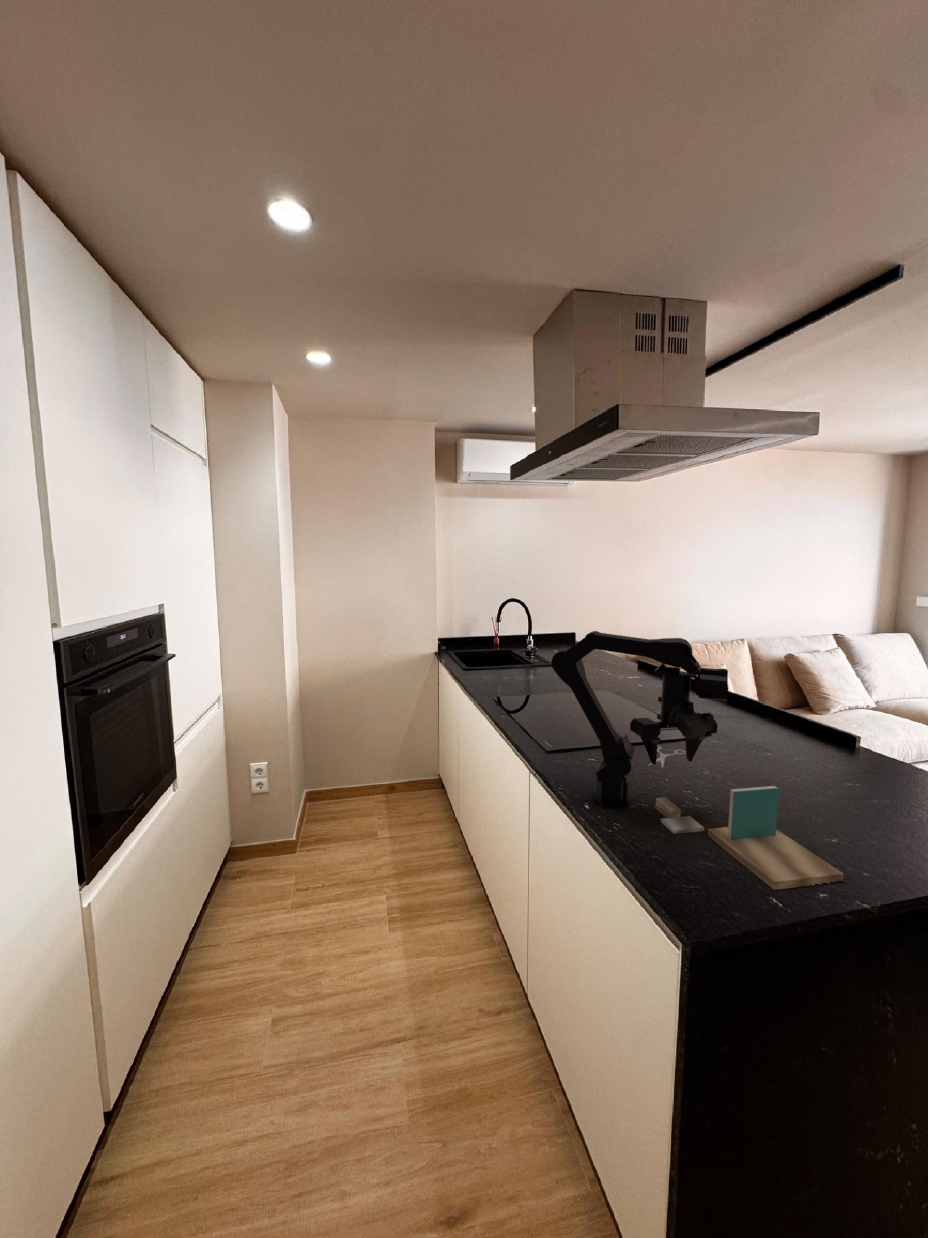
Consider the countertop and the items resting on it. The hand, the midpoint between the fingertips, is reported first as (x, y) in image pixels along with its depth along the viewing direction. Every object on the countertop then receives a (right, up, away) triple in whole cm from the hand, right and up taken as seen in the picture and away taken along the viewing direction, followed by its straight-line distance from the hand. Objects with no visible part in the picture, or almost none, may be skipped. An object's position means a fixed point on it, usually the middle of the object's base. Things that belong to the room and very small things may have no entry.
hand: (671, 762), depth 114 cm
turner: (0, -12, -2) cm, 12 cm away
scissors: (+12, -9, +35) cm, 38 cm away
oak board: (+12, -14, -16) cm, 25 cm away
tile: (+12, -7, -12) cm, 18 cm away
